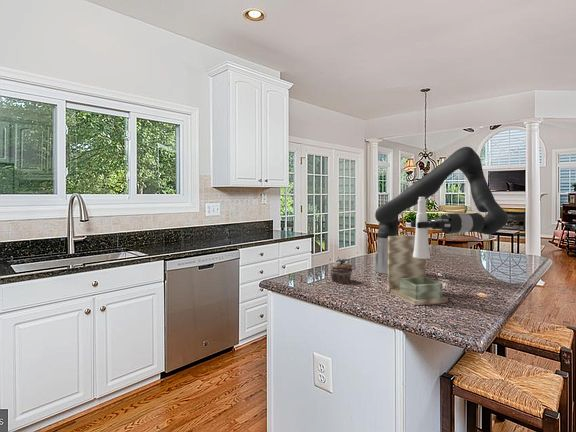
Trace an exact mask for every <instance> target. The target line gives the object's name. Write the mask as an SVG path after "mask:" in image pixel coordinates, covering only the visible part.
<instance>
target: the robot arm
mask: <svg viewBox="0 0 576 432" xmlns="http://www.w3.org/2000/svg"><path fill="white" fill-rule="evenodd" d="M457 170H459V171H460V172H462V173H463V175H464V176H465V177H466V179H467V181H468V183H469V188H470V194H471V197H472V200H473V202H474V205H475V207H476V209H477V210H478V212H480V213H487V214H486V215H485V216H483V215H482V214H480V213H477V212H476V213H473V212H472V213H471V212H470V213H465V212H464V213H463V212H453V213H452V212H450V213H443V214H441V216H440V218H438V217H437V218H435V217H433V218H427V221H428V222H417V228H427V227H428V230H431V229H432V230H439V231H441V232H442V233H443V234H444V235H445V234H446V235H448V234H449V235H450V234H451V235H452V234H464V233H472V232H473V233H479V234H483V235H488V236H489V235H494V234H496V233H497V232H498V231H500V230H501V229H502V228H504V227H505V226H506V225H507V223H508V222H509V217H508V214H507V212H506V210H504V209H503V207H501V206H500V204H499V203H498V202H497V201H496V199H495V197H494V195H493V193H492V192H493V191H492V190H491V188H490V186H489V185H488V182H487V180H486V177H485V173H484V170H483V166H482V161H481V157H480V156H479V155H478V153H477V152H476V151H475V150H474V149H473V148H472V147H471V146H462V147H459V149H456V150H455V151H454V152H453V153H452V154H450V156H448V157H446V159H445V160H443V161H442V162H441V163H440V164H439V165H437V166H436V167H435V168H433V169H432V170H431V171H429V172H428V173H427V174H425V175H423V176H422V177H421V178H419V179H418V180H416V181H414V182H413V183H412V184H411V185H409V186H408V187H407V188H406V189H404V190H403V191H402V192H401V193H400V194H399V195H397V196H396V197H394V198H392V199H391V200H389V201H388V202H385V203H384V204H382V205H380V206H378V208H377V209H376V211H375V213H374V217H375V220H376V221H377V223H378V222H379V226H378V227H379V228H378V230H377V233H376V234H377V235H376V236H377V237H376V245H377V246H376V252H375V273H379V274H383V275H384V274H385V275H388V236H398V231H399V215H400V214H401V213H403V212H404V211H406V210H409V208H411V207H413V206H414V207H415V206H417V205H418V200H419V197H425V200H426V201H427V199H429V198H430V197H432V196H434V194H436V193H437V192H438V191H439V190H440V188H441V187H442V186H443V183H444V182H445V180H447V178H448V177H449V176H450V175H451V174H453V173H454V172H456V171H457ZM410 228H416V220H411V221H410Z"/></svg>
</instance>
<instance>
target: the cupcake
mask: <svg viewBox="0 0 576 432" xmlns="http://www.w3.org/2000/svg"><path fill="white" fill-rule="evenodd" d="M329 272H330V279H331V282H332V281H333V283H335V282H336V284H347V282H348V283H350V282H349V281H351V277H352V274H353V273H352V272H353V269H352V264H350V262H349V260H348V259H347V258H342V259H341V258H338V259H337V260H336V261H335V262H334V263H333V264H331V268H330V270H329Z"/></svg>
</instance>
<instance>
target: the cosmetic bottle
mask: <svg viewBox="0 0 576 432" xmlns="http://www.w3.org/2000/svg"><path fill="white" fill-rule="evenodd" d="M415 217H416V219H415V221H416V227H415V233H414V235H415V245H414V252H413V257H414V258H420V259H431V253H430V246H429V244H430V243H429V228H428V227H427V228H417V222H428V221H427V219H428V213H427V199H426V200H425V197H419V200H418V204H417V213H416V215H415Z"/></svg>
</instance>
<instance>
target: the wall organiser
mask: <svg viewBox="0 0 576 432" xmlns="http://www.w3.org/2000/svg"><path fill="white" fill-rule="evenodd" d="M414 245H415V234H414V235H409V234H408V235H397V236H388V274H386V275H387V278H386V279H387V280H386V281H387V283H386V284H387V288H386V290H387V291H386V292H387V293H391V294H392V295H394V296H396V297H398V298H399V299H402V300H403V301H405V302H407V303H410V304H412V305H413V306H420V305H433V304H443V303H444V304H447V303H448V298H447V297H445V296H443V283H442V282H439V281H436V280H433V279H430V278H428V277H426V272H427V271H426V269H427V267H426V266H427V265H426V264H427V263H426V262H427V261H426V259H420V258H414V257H413V252H414Z"/></svg>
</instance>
